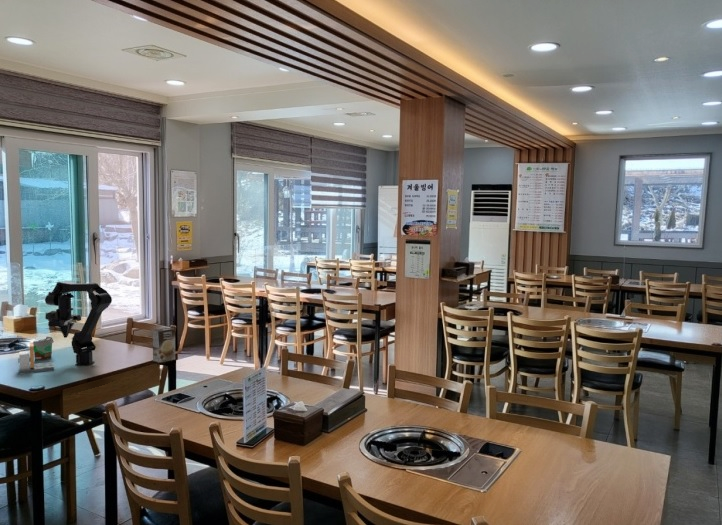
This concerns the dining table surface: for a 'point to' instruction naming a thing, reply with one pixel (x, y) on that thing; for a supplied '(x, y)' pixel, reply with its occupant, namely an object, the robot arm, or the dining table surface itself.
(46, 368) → the bearing base
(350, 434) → the dining table surface
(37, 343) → the food container
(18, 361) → the tan trapezoid block
